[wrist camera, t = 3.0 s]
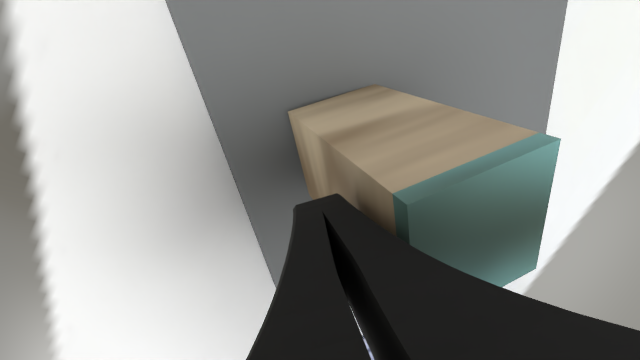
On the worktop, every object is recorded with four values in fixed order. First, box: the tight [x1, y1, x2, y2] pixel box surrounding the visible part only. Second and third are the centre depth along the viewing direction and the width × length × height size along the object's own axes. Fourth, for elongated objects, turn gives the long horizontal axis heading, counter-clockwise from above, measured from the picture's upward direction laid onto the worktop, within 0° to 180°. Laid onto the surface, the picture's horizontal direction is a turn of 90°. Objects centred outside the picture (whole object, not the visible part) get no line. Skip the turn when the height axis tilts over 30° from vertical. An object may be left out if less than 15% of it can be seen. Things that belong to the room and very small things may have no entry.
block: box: [288, 84, 561, 287], centre depth 11 cm, size 4×4×8 cm
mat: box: [165, 0, 568, 289], centre depth 15 cm, size 16×16×1 cm
